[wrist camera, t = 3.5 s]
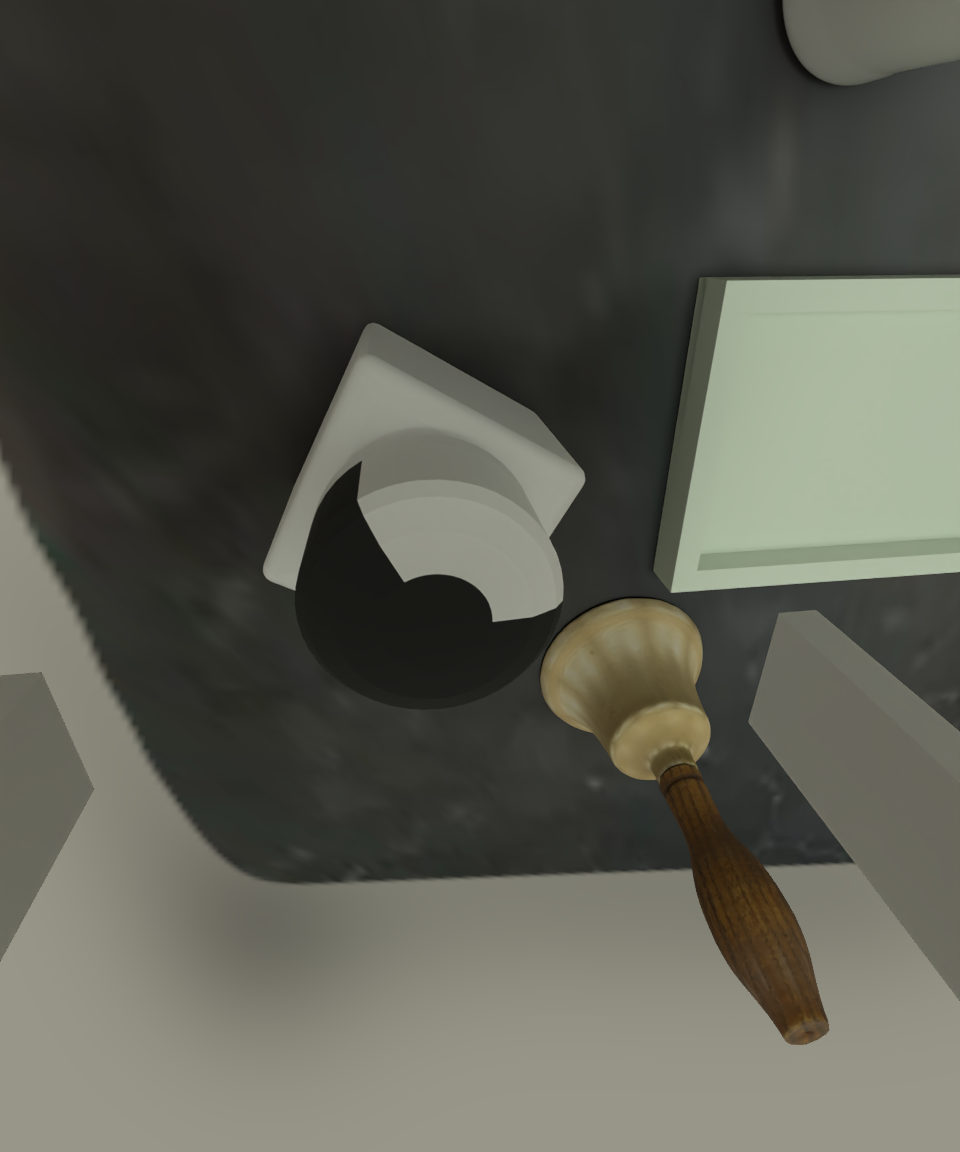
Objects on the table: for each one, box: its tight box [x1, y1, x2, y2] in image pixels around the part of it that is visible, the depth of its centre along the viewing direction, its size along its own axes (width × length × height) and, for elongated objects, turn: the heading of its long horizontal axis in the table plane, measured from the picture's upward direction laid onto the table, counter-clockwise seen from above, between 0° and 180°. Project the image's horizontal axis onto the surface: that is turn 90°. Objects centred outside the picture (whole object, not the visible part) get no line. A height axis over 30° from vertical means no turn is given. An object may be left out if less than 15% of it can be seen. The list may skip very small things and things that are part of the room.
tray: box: [653, 274, 960, 593], centre depth 24 cm, size 12×17×2 cm
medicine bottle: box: [263, 323, 585, 709], centre depth 18 cm, size 7×7×12 cm
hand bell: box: [540, 598, 829, 1045], centre depth 23 cm, size 8×8×16 cm
